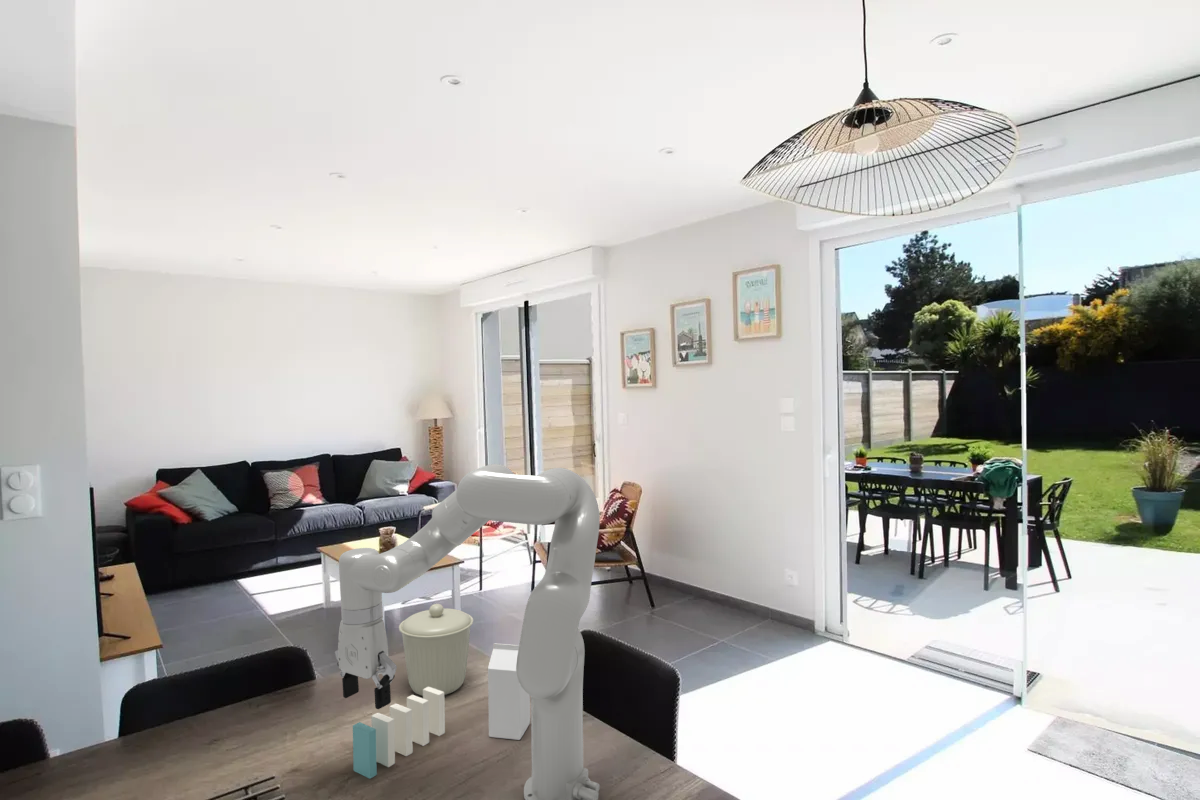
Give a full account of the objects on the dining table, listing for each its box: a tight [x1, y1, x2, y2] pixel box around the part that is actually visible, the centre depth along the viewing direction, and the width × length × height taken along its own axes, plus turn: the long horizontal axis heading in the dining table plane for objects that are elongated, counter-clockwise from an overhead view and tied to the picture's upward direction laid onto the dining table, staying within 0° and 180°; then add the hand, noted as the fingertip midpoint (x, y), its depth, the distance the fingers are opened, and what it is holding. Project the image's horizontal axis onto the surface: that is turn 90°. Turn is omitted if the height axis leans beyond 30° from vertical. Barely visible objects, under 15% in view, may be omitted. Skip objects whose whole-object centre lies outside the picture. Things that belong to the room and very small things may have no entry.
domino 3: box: [389, 702, 414, 757], centre depth 134 cm, size 5×2×9 cm, turn 57°
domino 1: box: [352, 721, 378, 780], centre depth 127 cm, size 5×2×9 cm, turn 57°
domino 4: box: [406, 694, 430, 747], centre depth 138 cm, size 5×2×9 cm, turn 57°
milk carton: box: [487, 642, 531, 741], centre depth 142 cm, size 7×7×19 cm
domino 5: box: [422, 687, 446, 737], centre depth 142 cm, size 5×2×9 cm, turn 57°
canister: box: [398, 603, 474, 697], centre depth 163 cm, size 18×18×21 cm
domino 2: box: [370, 712, 396, 768], centre depth 131 cm, size 5×2×9 cm, turn 57°
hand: (366, 700), depth 126 cm, fingers open, 9 cm apart
